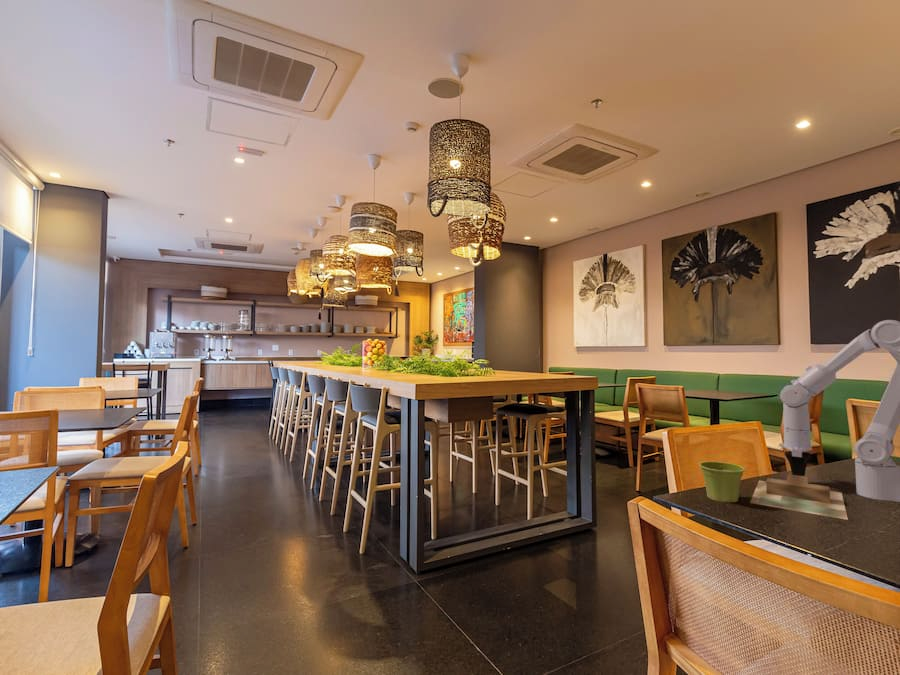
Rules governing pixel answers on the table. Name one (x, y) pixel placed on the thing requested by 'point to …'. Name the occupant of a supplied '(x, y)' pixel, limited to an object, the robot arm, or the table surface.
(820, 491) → the t block
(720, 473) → the plant pot
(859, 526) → the table surface
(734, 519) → the table surface
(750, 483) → the table surface
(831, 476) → the table surface
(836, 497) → the t board
